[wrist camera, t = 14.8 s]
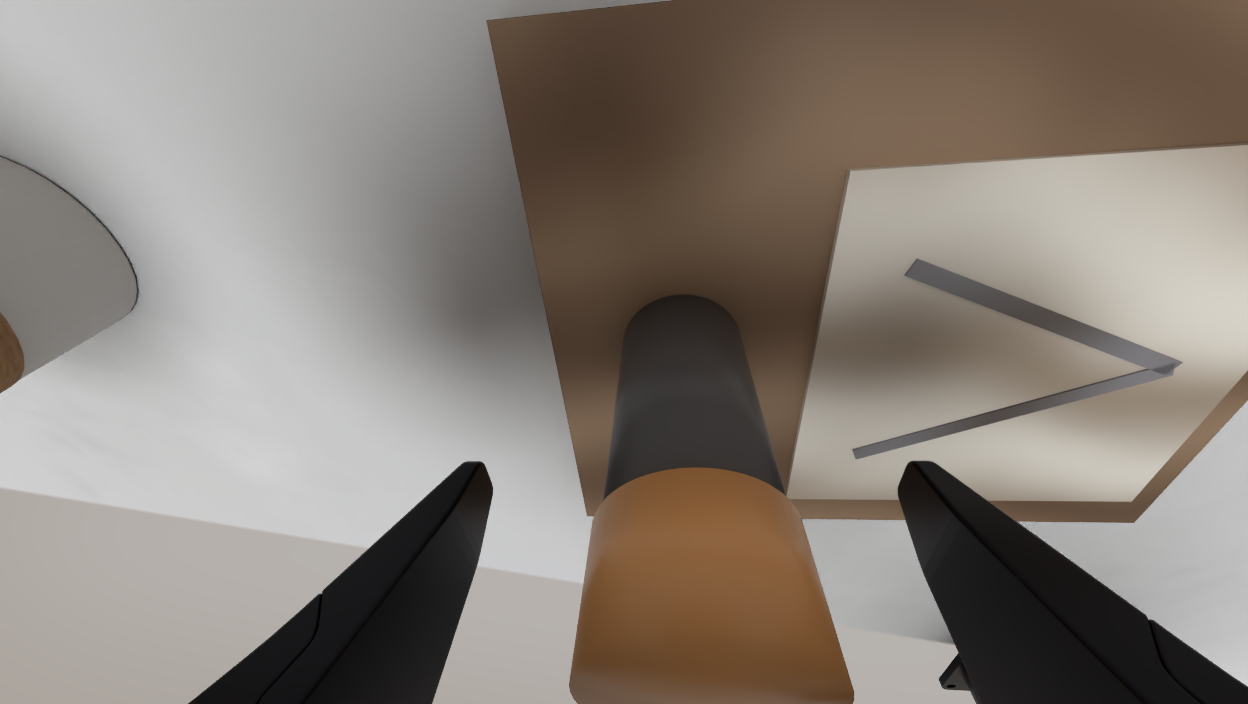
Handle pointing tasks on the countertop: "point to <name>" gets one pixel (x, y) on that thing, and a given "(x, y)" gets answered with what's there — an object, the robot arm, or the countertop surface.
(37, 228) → the coffee cup
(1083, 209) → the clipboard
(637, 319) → the black and orange cylinder
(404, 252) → the countertop surface
